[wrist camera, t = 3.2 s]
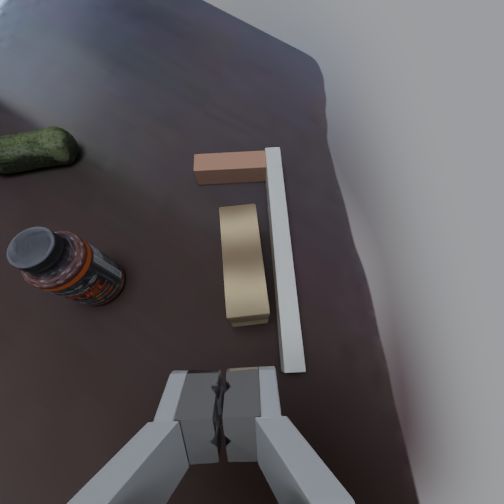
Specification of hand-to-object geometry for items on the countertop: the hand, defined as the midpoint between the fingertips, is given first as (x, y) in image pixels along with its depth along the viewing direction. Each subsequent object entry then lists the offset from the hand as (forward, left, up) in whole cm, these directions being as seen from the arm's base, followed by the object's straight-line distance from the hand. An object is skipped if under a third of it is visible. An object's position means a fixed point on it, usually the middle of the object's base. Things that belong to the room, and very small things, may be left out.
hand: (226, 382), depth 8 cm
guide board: (+14, 0, -21) cm, 25 cm away
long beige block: (+10, 0, -22) cm, 24 cm away
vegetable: (+31, +32, -22) cm, 50 cm away
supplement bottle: (+10, +18, -22) cm, 30 cm away
